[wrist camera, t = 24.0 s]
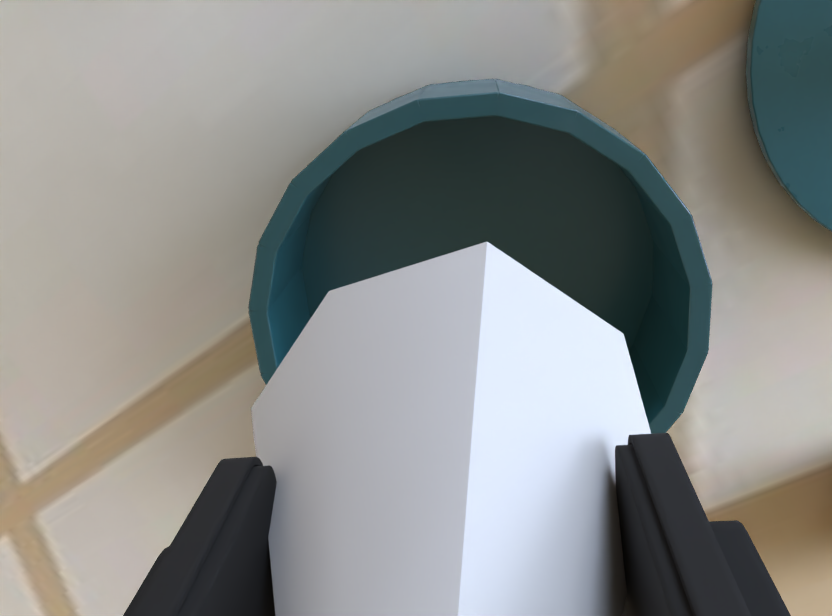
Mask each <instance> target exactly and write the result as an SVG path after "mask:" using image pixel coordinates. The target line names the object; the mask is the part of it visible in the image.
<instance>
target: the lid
mask: <svg viewBox="0 0 832 616" xmlns="http://www.w3.org/2000/svg"><path fill="white" fill-rule="evenodd" d="M746 80H747V93H748V104H749V109H750V113H751V118H752V122H753V127H754V131H755V134H756V137H757V139H758V142H759V144H760V147H761V150H762V152H763V155H764V158H765V159H766V161H767V163H768V165H769V166H770V168H771V170H772V172H773V173H774V175H775V177H776V179H777V180H778V182H779V183H780V184H781V186H782V187H783V188H784V189H785V191H786V192H787V193H788V195H789V196H790V197H791V198H792V200H793V201H794V202H795V203H796V204H797V205H798V206H799V207H800V208H801V209H803V210H804V211H805V212H806V213H807V214H808V215H809V216H810V217H811V218H812V219H813V220H815V221H816V222H818V223H819V224H821V225H822V226H824V227H825V228H827V229H828V230H830V231H831V232H832V0H756V2H755V5H754V8H753V14H752V19H751V25H750V30H749V36H748V44H747V62H746Z"/></svg>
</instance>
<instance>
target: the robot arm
mask: <svg viewBox="0 0 832 616" xmlns="http://www.w3.org/2000/svg"><path fill="white" fill-rule="evenodd" d="M615 476H616V495H617V505H618V514H619V523H620V533H621V542H622V551H623V561H624V570H625V579H626V588H627V597H626V601H625V605H624V610H623V614H622V616H791V615H790V613H789V612H788V610H787V608H786V606H785V604H784V602H783V600H782V598H781V596H780V594H779V592H778V590H777V588H776V586H775V585H774V583H773V581H772V579H771V577H770V575H769V573H768V571H767V569H766V567H765V565H764V563H763V561H762V559H761V558H760V556H759V554H758V552H757V550H756V548H755V546H754V544H753V542H752V540H751V538H750V536H749V534H748V532H747V531H746V529H745V528H744V526H743V525H742V523H740V522H739V521H737V520H736V521H714V522H709V521H708V519H707V517H706V514H705V512H704V510H703V508H702V506H701V503H700V501H699V499H698V497H697V495H696V492H695V490H694V488H693V486H692V483H691V481H690V479H689V477H688V475H687V472H686V470H685V468H684V466H683V464H682V461H681V459H680V457H679V455H678V453H677V450H676V448H675V446H674V444H673V441H672V439H671V437H670V435H669V434H668V433H653V434H635V435H629V437H628V445H616V447H615ZM276 484H277V481H276V477H275V473H274V470H273V468H272V466H270V465H268V466H263V464H262V462H261V460H260V459H259V458H258V457H247V458H231V459H223V460H221V461H220V462H219V463H218V465H217V467H216V468H215V470H214V472H213V473H212V475H211V477H210V479H209V480H208V482H207V484H206V485H205V487H204V489H203V491H202V492H201V494H200V496H199V497H198V499H197V501H196V502H195V504H194V506H193V508H192V509H191V511H190V513H189V514H188V516H187V518H186V519H185V521H184V523H183V525H182V526H181V528H180V530H179V531H178V533H177V535H176V536H175V538H174V540H173V542H172V543H171V545H170V546H169V547H167V548H165V549H164V550H163V551H162V553H161V554H160V555H159V556H158V558H157V560H156V561H155V563H154V565H153V566H152V568H151V570H150V572H149V573H148V575H147V577H146V578H145V580H144V582H143V583H142V585H141V587H140V588H139V590H138V592H137V593H136V595H135V597H134V598H133V600H132V602H131V603H130V605H129V607H128V608H127V610H126V612H125V613H124V615H123V616H275V607H274V596H273V585H272V574H271V562H270V551H269V540H268V535H269V529H270V523H271V516H272V510H273V503H274V497H275V490H276Z"/></svg>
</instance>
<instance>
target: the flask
mask: <svg viewBox="0 0 832 616" xmlns="http://www.w3.org/2000/svg"><path fill="white" fill-rule="evenodd" d="M251 412H252V423H253V434H254V442H255V449H256V456H257V457H258V458H259V459H260V460H261V462H262V464H263V466H268V465H270V466H272V468H273V470H274V473H275V477H276V481H277V484H276V490H275V497H274V503H273V510H272V516H271V523H270V529H269V535H268V540H269V551H270V562H271V574H272V585H273V596H274V607H275V616H622V614H623V610H624V605H625V601H626V597H627V588H626V579H625V570H624V561H623V551H622V542H621V533H620V523H619V514H618V505H617V495H616V476H615V447H616V445H628V437H629V435H635V434H651V431H650V428H649V424H648V420H647V417H646V413H645V410H644V406H643V402H642V399H641V395H640V391H639V388H638V384H637V380H636V377H635V373H634V370H633V366H632V362H631V359H630V355H629V351H628V348H627V344H626V341H625V337H624V334H623V333H622V332H620V331H619V330H617V329H616V328H614V327H613V326H611V325H610V324H608V323H607V322H605V321H604V320H602V319H601V318H600V317H598V316H597V315H595V314H594V313H592V312H591V311H589V310H588V309H586V308H585V307H583V306H582V305H580V304H579V303H577V302H576V301H574V300H573V299H571V298H570V297H568V296H567V295H566V294H564V293H563V292H561V291H560V290H558V289H557V288H555V287H554V286H552V285H551V284H549V283H548V282H546V281H545V280H543V279H542V278H540V277H539V276H537V275H536V274H534V273H533V272H531V271H530V270H529V269H527V268H526V267H524V266H523V265H521V264H520V263H518V262H517V261H515V260H514V259H512V258H511V257H509V256H508V255H506V254H505V253H503V252H502V251H500V250H499V249H497V248H496V247H494V246H493V245H492V244H490V243H489V242H484V243H481V244H478V245H474V246H471V247H468V248H465V249H462V250H458V251H455V252H452V253H449V254H446V255H442V256H439V257H436V258H433V259H430V260H426V261H423V262H420V263H417V264H414V265H410V266H407V267H404V268H401V269H398V270H394V271H391V272H388V273H385V274H382V275H379V276H375V277H372V278H369V279H366V280H363V281H359V282H356V283H353V284H350V285H347V286H343V287H340V288H337V289H334V290H331V291H329V292H328V293H327V295H326V296H325V298H324V299H323V301H322V302H321V304H320V305H319V307H318V308H317V310H316V311H315V313H314V314H313V316H312V317H311V319H310V320H309V322H308V323H307V325H306V326H305V328H304V329H303V331H302V332H301V334H300V335H299V337H298V338H297V340H296V341H295V343H294V344H293V346H292V347H291V349H290V350H289V352H288V353H287V355H286V356H285V358H284V359H283V361H282V362H281V364H280V365H279V367H278V368H277V370H276V371H275V373H274V374H273V376H272V377H271V379H270V380H269V382H268V383H267V385H266V386H265V388H264V389H263V391H262V392H261V394H260V395H259V397H258V398H257V400H256V401H255V403H254V404H253V406H252V407H251Z"/></svg>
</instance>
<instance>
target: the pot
mask: <svg viewBox="0 0 832 616" xmlns="http://www.w3.org/2000/svg"><path fill="white" fill-rule="evenodd" d="M484 242H489V243H490V244H492V245H493V246H494V247H496V248H497V249H499V250H500V251H502V252H503V253H505V254H506V255H508V256H509V257H511V258H512V259H514V260H515V261H517V262H518V263H520V264H521V265H523V266H524V267H526V268H527V269H529V270H530V271H531V272H533V273H534V274H536V275H537V276H539V277H540V278H542V279H543V280H545V281H546V282H548V283H549V284H551V285H552V286H554V287H555V288H557V289H558V290H560V291H561V292H563V293H564V294H566V295H567V296H568V297H570V298H571V299H573V300H574V301H576V302H577V303H579V304H580V305H582V306H583V307H585V308H586V309H588V310H589V311H591V312H592V313H594V314H595V315H597V316H598V317H600V318H601V319H602V320H604V321H605V322H607V323H608V324H610V325H611V326H613V327H614V328H616V329H617V330H619V331H620V332H622V333H623V334H624V337H625V341H626V344H627V348H628V351H629V355H630V359H631V362H632V366H633V370H634V373H635V377H636V380H637V384H638V388H639V391H640V395H641V399H642V402H643V406H644V410H645V413H646V417H647V420H648V424H649V428H650V431H651V434H653V433H666V432H667V430H668V429H669V428H670V427H671V426H672V425H673V423H674V422H675V421H676V420H677V419H678V418H679V417H680V415H681V413H683V411H684V408H685V406H686V404H687V401H688V399H689V397H690V394H691V392H692V389H693V387H694V385H695V382H696V380H697V378H698V375H699V373H700V371H701V368H702V366H703V363H704V361H705V359H706V356H707V354H708V350H709V333H710V316H711V299H712V279H711V276H710V273H709V270H708V266H707V263H706V260H705V257H704V253H703V250H702V247H701V244H700V240H699V237H698V234H697V231H696V227H695V224H694V221H693V217H692V215H691V214H690V211H689V210H688V209H687V207H686V206H685V205H684V204H683V202H682V201H681V200H680V198H679V197H678V196H677V194H676V193H675V192H674V191H673V189H672V188H671V187H670V185H669V184H668V183H667V181H666V180H665V179H664V177H663V176H662V175H661V174H660V172H659V171H658V170H657V168H656V167H655V166H654V164H653V163H652V162H651V160H650V159H649V158H648V157H647V155H646V154H644V153H643V152H642V151H641V150H640V149H639V148H637V147H636V146H635V145H634V144H632V143H631V142H630V141H628V140H627V139H626V138H625V137H623V136H622V135H621V134H620V133H618V132H617V131H616V130H615V129H613V128H612V127H610V126H609V125H607V124H606V123H604V122H602V121H601V120H599V119H598V118H596V117H595V116H593V115H592V114H590V113H588V112H587V111H585V110H584V109H582V108H581V107H579V106H578V105H576V104H574V103H573V102H571V101H570V100H568V99H567V98H565V97H564V96H562V95H559V94H557V93H553V92H549V91H544V90H540V89H537V88H533V87H530V86H527V85H521V84H515V83H511V82H507V81H503V80H499V79H485V80H468V81H459V82H449V83H442V84H431V85H429V86H428V85H427V86H424V87H422V88H420V89H418V90H415V91H413V92H411V93H409V94H406V95H404V96H401V97H399V98H396V99H394V100H392V101H390V102H388V103H386V104H384V105H381V106H379V107H377V108H375V109H372V110H370V111H369V112H367V113H366V114H365V115H364V116H362V117H361V118H360V119H359V120H358V121H356V122H355V123H354V124H353V125H352V126H350V127H349V128H348V129H347V130H346V131H345V132H343V133H342V134H341V135H340V136H339V137H338V138H337V139H336V140H335V141H334V142H333V143H332V144H330V145H329V146H328V147H327V148H326V149H325V150H324V151H323V152H322V153H321V154H320V155H319V156H317V157H316V158H315V159H314V160H313V161H312V162H311V163H310V164H309V165H308V166H307V167H306V168H305V169H303V170H302V171H301V172H300V173H299V174H298V175H297V176H296V177H295V178H294V179H293V180H292V181H291V183H289V185H288V187H287V189H286V191H285V193H284V195H283V197H282V199H281V201H280V202H279V204H278V206H277V208H276V210H275V212H274V214H273V216H272V218H271V220H270V221H269V223H268V225H267V227H266V229H265V231H264V233H263V235H262V237H261V238H260V240H259V244H258V246H257V253H256V259H255V266H254V273H253V280H252V287H251V294H250V301H249V307H248V308H249V317H250V322H251V327H252V333H253V338H254V343H255V348H256V354H257V359H258V364H259V369H260V373H261V376H262V378H263V380H264V382H265V384H266V385H267V383H268V382H269V380H270V379H271V377H272V376H273V374H274V373H275V371H276V370H277V368H278V367H279V365H280V364H281V362H282V361H283V359H284V358H285V356H286V355H287V353H288V352H289V350H290V349H291V347H292V346H293V344H294V343H295V341H296V340H297V338H298V337H299V335H300V334H301V332H302V331H303V329H304V328H305V326H306V325H307V323H308V322H309V320H310V319H311V317H312V316H313V314H314V313H315V311H316V310H317V308H318V307H319V305H320V304H321V302H322V301H323V299H324V298H325V296H326V295H327V293H328V292H329V291H331V290H334V289H337V288H340V287H343V286H347V285H350V284H353V283H356V282H359V281H363V280H366V279H369V278H372V277H375V276H379V275H382V274H385V273H388V272H391V271H394V270H398V269H401V268H404V267H407V266H410V265H414V264H417V263H420V262H423V261H426V260H430V259H433V258H436V257H439V256H442V255H446V254H449V253H452V252H455V251H458V250H462V249H465V248H468V247H471V246H474V245H478V244H481V243H484Z"/></svg>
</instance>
